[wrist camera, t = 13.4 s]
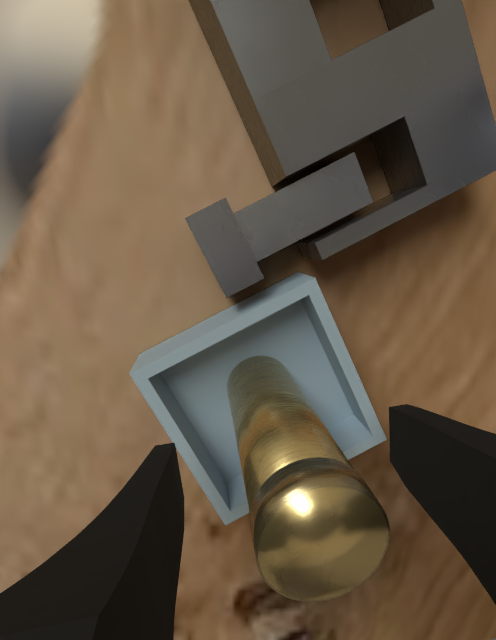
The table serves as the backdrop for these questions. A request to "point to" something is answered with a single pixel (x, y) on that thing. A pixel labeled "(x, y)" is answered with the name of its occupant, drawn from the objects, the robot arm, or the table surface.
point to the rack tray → (225, 354)
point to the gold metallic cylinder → (301, 490)
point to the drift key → (276, 221)
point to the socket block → (358, 101)
